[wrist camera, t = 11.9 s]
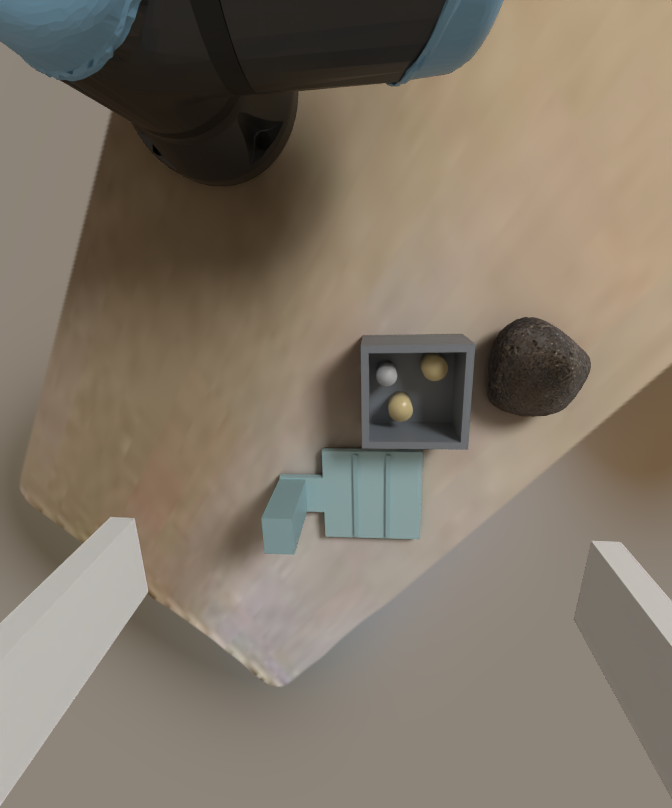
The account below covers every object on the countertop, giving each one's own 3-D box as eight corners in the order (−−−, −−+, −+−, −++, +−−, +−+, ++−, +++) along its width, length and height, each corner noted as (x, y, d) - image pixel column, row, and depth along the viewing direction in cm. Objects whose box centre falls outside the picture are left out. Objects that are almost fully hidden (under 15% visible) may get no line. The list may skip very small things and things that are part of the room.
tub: (362, 335, 43) (360, 345, 38) (462, 333, 42) (475, 344, 37) (363, 426, 46) (361, 448, 41) (456, 426, 45) (467, 449, 40)
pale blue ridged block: (278, 447, 48) (258, 485, 39) (422, 449, 46) (432, 489, 38) (285, 531, 51) (267, 582, 43) (419, 535, 50) (427, 589, 41)
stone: (546, 394, 47) (632, 354, 39) (516, 444, 43) (604, 412, 34) (484, 332, 47) (556, 278, 39) (448, 376, 43) (518, 326, 34)
